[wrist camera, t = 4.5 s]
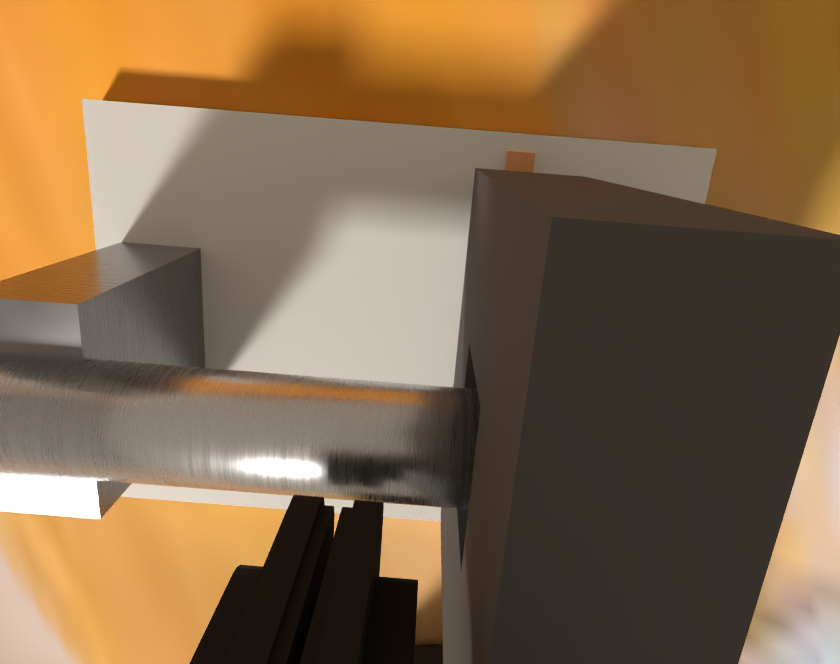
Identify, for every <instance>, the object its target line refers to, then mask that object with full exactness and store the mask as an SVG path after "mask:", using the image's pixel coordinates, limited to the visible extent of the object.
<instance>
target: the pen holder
mask: <svg viewBox="0 0 840 664" xmlns="http://www.w3.org/2000/svg"><path fill="white" fill-rule="evenodd" d="M414 664H443V645H421V646H415V649H414Z"/></svg>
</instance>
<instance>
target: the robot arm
mask: <svg viewBox="0 0 840 664" xmlns="http://www.w3.org/2000/svg"><path fill="white" fill-rule="evenodd" d="M383 509H384V502H376V501H364V500H354V503H353V508H352V507H342V509H341V513H340V517H339V520H338V524H337V528H336V531H335V535H334V506H328V505H325V502H324V497H317V496H305V495H293V497H292V499H291V502H290V504H289V506H288V509H287V511H286V514H285V516H284V518H283V521H282V523H281V526H280V528H279V530H278V533H277V535H276V538H275V540H274V542H273V545H272V547H271V550H270V552H269V554H268V557H267V559H266V561H265V564H264V566H263V567H259V566H247V565H239V566H238V567H237V568H236V569H235V571H234V573H233V575H232V577H231V579H230V581H229V583H228V585H227V587H226V589H225V591H224V593H223V595H222V597H221V600H220V602H219V604H218V606H217V608H216V610H215V612H214V614H213V616H212V618H211V620H210V622H209V624H208V627H207V629H206V631H205V633H204V635H203V637H202V639H201V641H200V643H199V645H198V647H197V649H196V651H195V654H194V656H193V658H192V660H191V662H190V664H414V649H415V630H416V611H417V591H418V580H412V579H400V578H388V577H379V571H380V556H381V540H382V525H383Z"/></svg>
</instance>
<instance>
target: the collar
mask: <svg viewBox="0 0 840 664" xmlns="http://www.w3.org/2000/svg"><path fill="white" fill-rule="evenodd" d="M839 335H840V235H837V234H832V233H828V232H824V231H819V230H815V229H811V228H806V227H802V226H798V225H793V224H789V223H785V222H780V221H776V220H772V219H767V218H763V217H759V216H754V215H750V214H745V213H741V212H737V211H732V210H728V209H724V208H719V207H715V206H711V205H706V204H702V203H698V202H693V201H689V200H685V199H680V198H676V197H672V196H667V195H663V194H659V193H654V192H650V191H646V190H641V189H637V188H633V187H628V186H624V185H620V184H615V183H611V182H606V181H602V180H598V179H593V178H589V177H584V176H571V175H558V174H546V173H533V172H520V171H507V170H495V169H482V168H475V175H474V185H473V195H472V205H471V215H470V225H469V235H468V245H467V255H466V265H465V275H464V285H463V295H462V305H461V315H460V325H459V335H458V345H457V355H456V365H455V375H454V385H453V387H457V388H470V389H477V391H478V397H479V403H480V416H479V424H478V433H477V441H476V450H475V459H474V467H473V476H472V484H471V493H470V502H469V510H468V509H456V508H443V507H441V564H442V622H443V664H738V662H739V659H740V656H741V652H742V649H743V646H744V643H745V639H746V636H747V633H748V630H749V626H750V623H751V620H752V617H753V613H754V610H755V607H756V604H757V601H758V597H759V594H760V591H761V588H762V584H763V581H764V578H765V575H766V571H767V568H768V565H769V562H770V558H771V555H772V552H773V549H774V546H775V542H776V539H777V536H778V533H779V529H780V526H781V523H782V520H783V516H784V513H785V510H786V507H787V503H788V500H789V497H790V494H791V490H792V487H793V484H794V481H795V478H796V474H797V471H798V468H799V465H800V461H801V458H802V455H803V452H804V448H805V445H806V442H807V439H808V435H809V432H810V429H811V426H812V422H813V419H814V416H815V413H816V410H817V406H818V403H819V400H820V397H821V393H822V390H823V387H824V384H825V380H826V377H827V374H828V371H829V367H830V364H831V361H832V358H833V355H834V351H835V348H836V345H837V342H838V338H839Z"/></svg>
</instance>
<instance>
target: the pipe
mask: <svg viewBox="0 0 840 664" xmlns="http://www.w3.org/2000/svg"><path fill="white" fill-rule="evenodd" d="M479 416H480V403H479V397H478V391H477V389H470V388H457V387H444V386H432V385H419V384H406V383H393V382H380V381H368V380H355V379H342V378H329V377H316V376H304V375H291V374H278V373H265V372H253V371H240V370H227V369H214V368H205V347H204V322H203V297H202V272H201V248H190V247H178V246H165V245H152V244H139V243H127V242H120V243H117V244H114V245H111V246H108V247H105V248H102V249H99V250H95V251H92V252H89V253H86V254H83V255H80V256H77V257H74V258H70V259H67V260H64V261H61V262H58V263H55V264H52V265H49V266H45V267H42V268H39V269H36V270H33V271H30V272H27V273H24V274H21V275H17V276H14V277H11V278H8V279H5V280H2V281H0V511H5V512H17V513H30V514H43V515H56V516H69V517H82V518H94V519H101V518H102V517H103V515H104V514H105V513H106V512H107V511H108V510H109V509H110V508H111V506H112V505H113V504H114V503H115V502H116V501H117V500H118V498H119V497H120V496H121V495H122V494H123V493H124V492H125V491H126V489H127V488H128V487H129V486H130V485H131V484H132V483H135V484H148V485H161V486H173V487H186V488H199V489H212V490H225V491H238V492H250V493H263V494H276V495H289V496H293V495H305V496H317V497H324V498H327V499H340V500H353V501H354V500H364V501H376V502H384V503H391V504H404V505H417V506H430V507H443V508H456V509H468V510H469V502H470V493H471V484H472V476H473V467H474V459H475V450H476V441H477V433H478V424H479Z"/></svg>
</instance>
